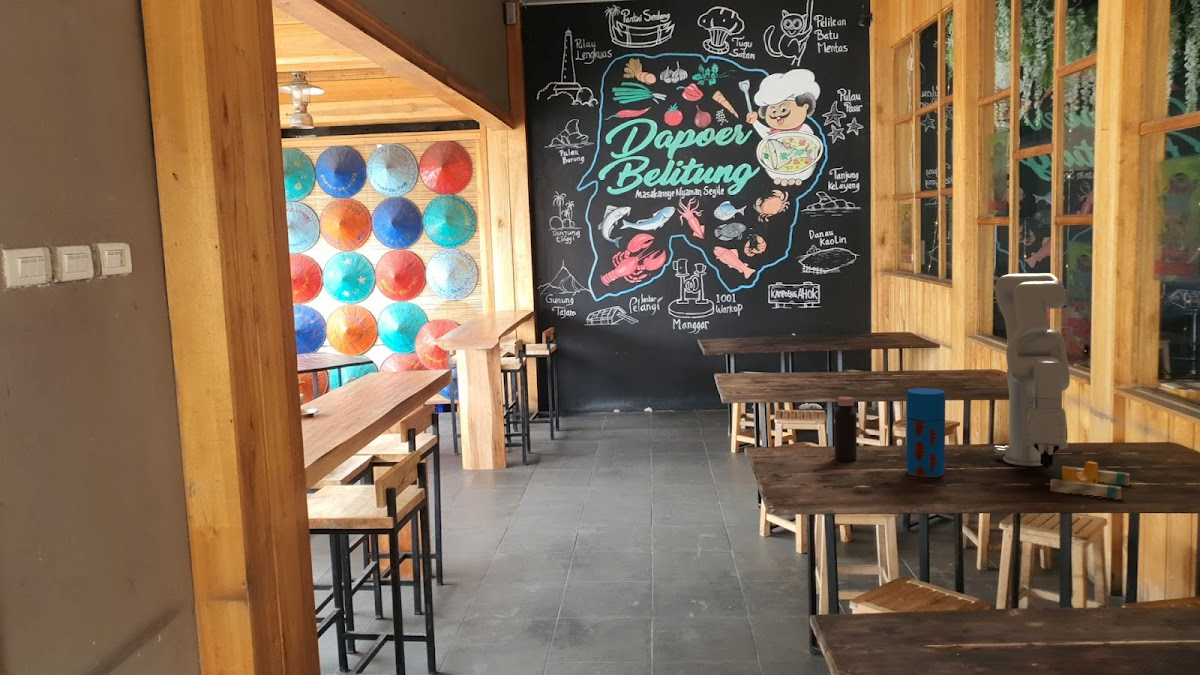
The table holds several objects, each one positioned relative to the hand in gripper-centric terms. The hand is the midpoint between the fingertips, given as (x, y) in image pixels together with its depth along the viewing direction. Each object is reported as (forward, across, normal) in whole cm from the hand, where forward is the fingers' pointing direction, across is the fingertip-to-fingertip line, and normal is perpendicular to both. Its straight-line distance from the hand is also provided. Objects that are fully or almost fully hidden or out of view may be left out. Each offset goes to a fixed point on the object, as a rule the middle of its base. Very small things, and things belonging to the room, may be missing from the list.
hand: (1046, 467), depth 268 cm
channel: (+5, +11, +1) cm, 12 cm away
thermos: (+4, -32, -5) cm, 33 cm away
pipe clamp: (+5, +8, 0) cm, 9 cm away
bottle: (+4, -60, 0) cm, 60 cm away
